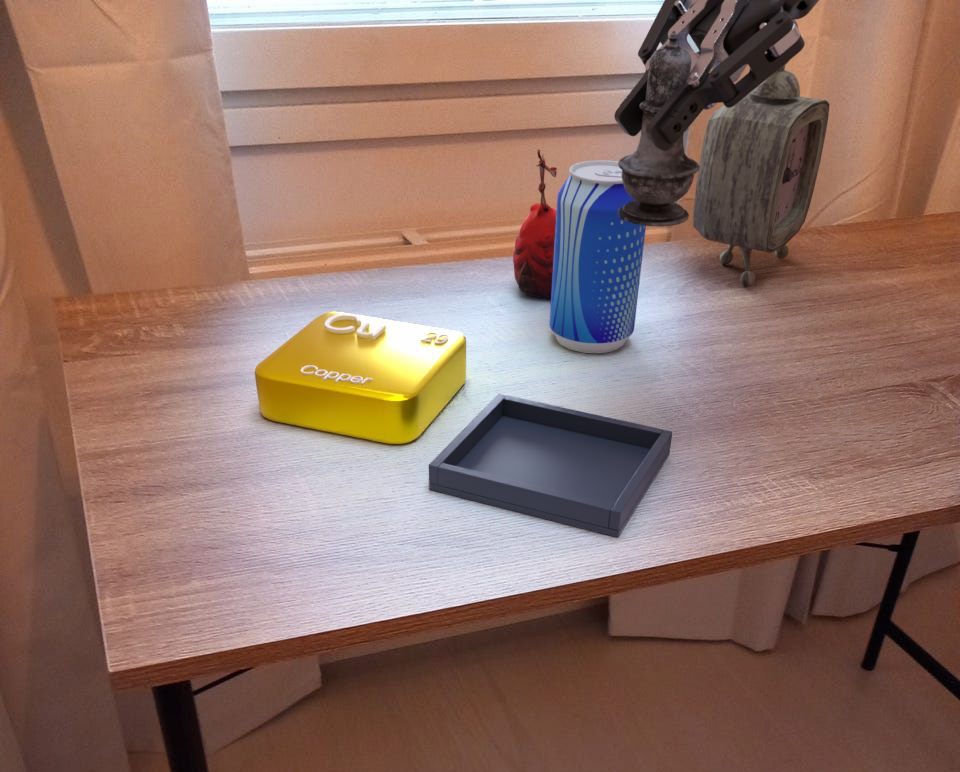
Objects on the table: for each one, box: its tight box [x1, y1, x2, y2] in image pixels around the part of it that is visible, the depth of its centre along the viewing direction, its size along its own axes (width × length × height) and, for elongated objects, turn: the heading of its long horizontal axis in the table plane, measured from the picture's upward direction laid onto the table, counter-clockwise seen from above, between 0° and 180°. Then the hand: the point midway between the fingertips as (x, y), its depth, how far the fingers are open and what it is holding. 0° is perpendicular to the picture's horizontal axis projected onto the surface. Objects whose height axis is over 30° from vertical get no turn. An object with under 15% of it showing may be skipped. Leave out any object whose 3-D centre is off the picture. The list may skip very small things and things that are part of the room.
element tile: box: [254, 311, 467, 445], centre depth 91 cm, size 15×15×5 cm
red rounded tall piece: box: [512, 149, 558, 299], centre depth 108 cm, size 8×7×15 cm
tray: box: [428, 393, 674, 538], centre depth 82 cm, size 16×14×2 cm
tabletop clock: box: [692, 20, 830, 287], centre depth 111 cm, size 14×9×25 cm, turn 147°
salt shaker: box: [617, 31, 700, 227], centre depth 72 cm, size 6×6×12 cm
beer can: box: [549, 159, 647, 354], centre depth 97 cm, size 8×8×16 cm
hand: (639, 133), depth 72 cm, fingers closed on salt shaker, 3 cm apart
